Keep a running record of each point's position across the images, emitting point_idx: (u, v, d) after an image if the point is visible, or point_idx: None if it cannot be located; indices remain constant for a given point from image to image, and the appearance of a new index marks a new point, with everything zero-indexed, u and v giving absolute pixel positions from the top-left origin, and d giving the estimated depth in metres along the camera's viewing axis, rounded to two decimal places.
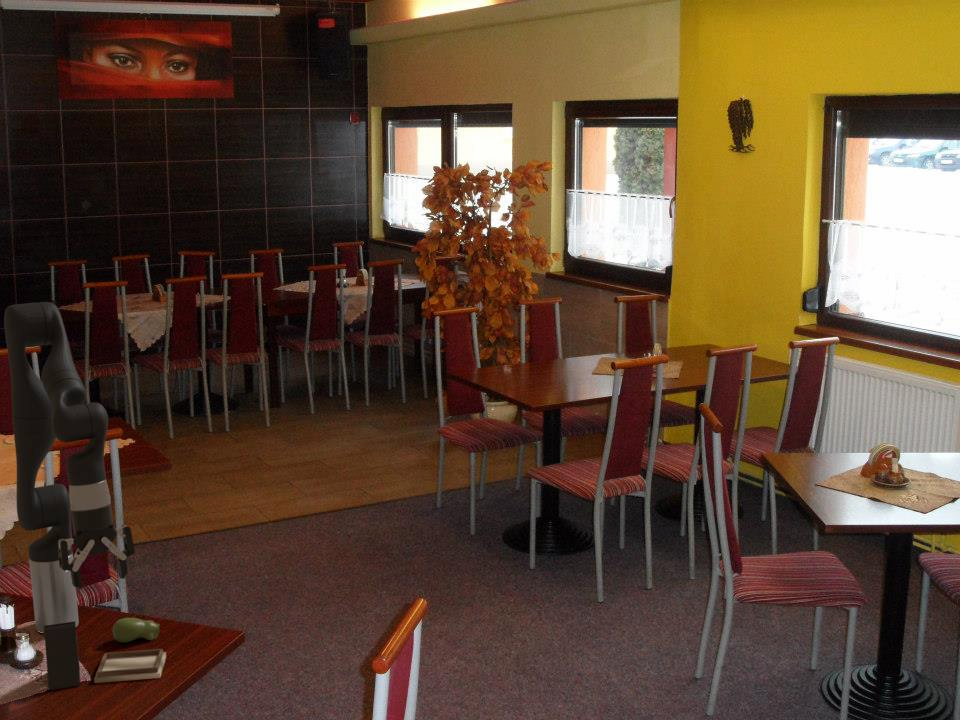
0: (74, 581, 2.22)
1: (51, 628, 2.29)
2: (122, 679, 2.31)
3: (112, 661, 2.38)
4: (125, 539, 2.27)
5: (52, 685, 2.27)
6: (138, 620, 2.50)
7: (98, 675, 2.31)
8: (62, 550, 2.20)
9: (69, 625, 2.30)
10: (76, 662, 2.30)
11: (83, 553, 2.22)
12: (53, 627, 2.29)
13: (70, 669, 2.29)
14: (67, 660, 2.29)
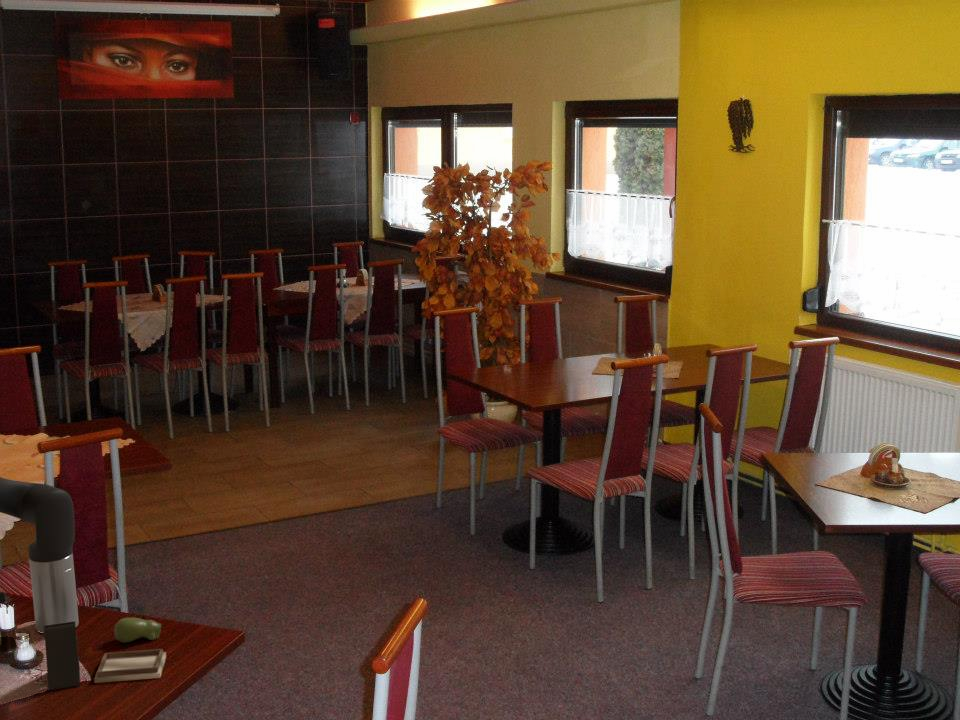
0: None
1: (51, 628, 2.29)
2: (122, 679, 2.31)
3: (112, 661, 2.38)
4: None
5: (52, 685, 2.27)
6: (140, 620, 2.50)
7: (98, 675, 2.31)
8: None
9: (69, 625, 2.30)
10: (76, 662, 2.30)
11: None
12: (53, 627, 2.29)
13: (70, 669, 2.29)
14: (67, 660, 2.29)
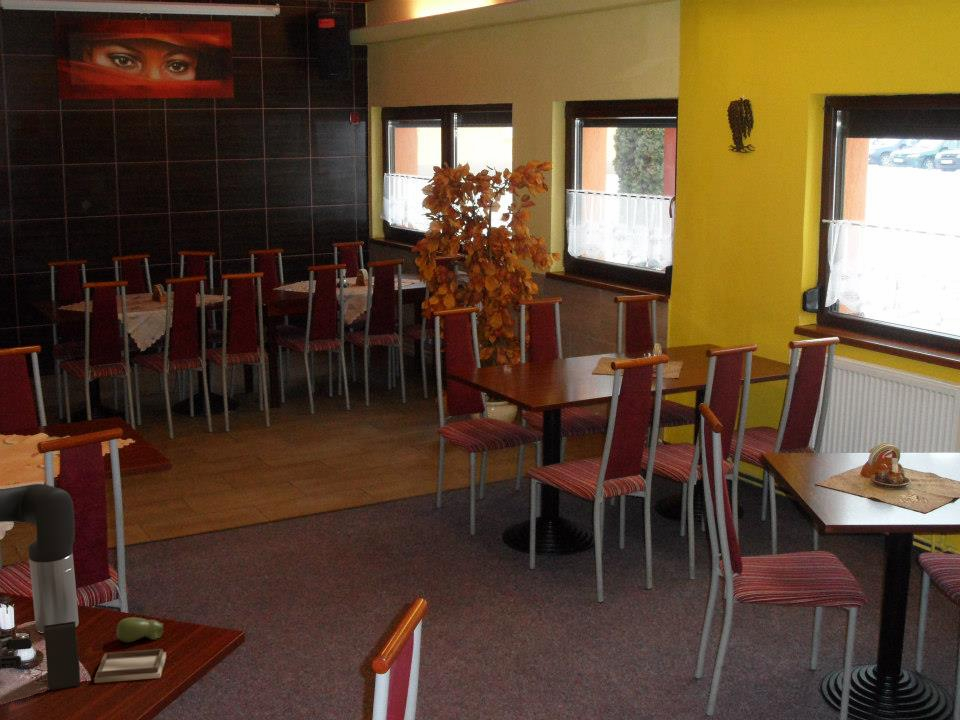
0: None
1: (51, 628, 2.29)
2: (122, 679, 2.31)
3: (112, 661, 2.38)
4: None
5: (52, 685, 2.27)
6: (142, 620, 2.50)
7: (98, 675, 2.31)
8: None
9: (69, 625, 2.30)
10: (76, 662, 2.30)
11: None
12: (53, 627, 2.29)
13: (70, 669, 2.29)
14: (67, 660, 2.29)
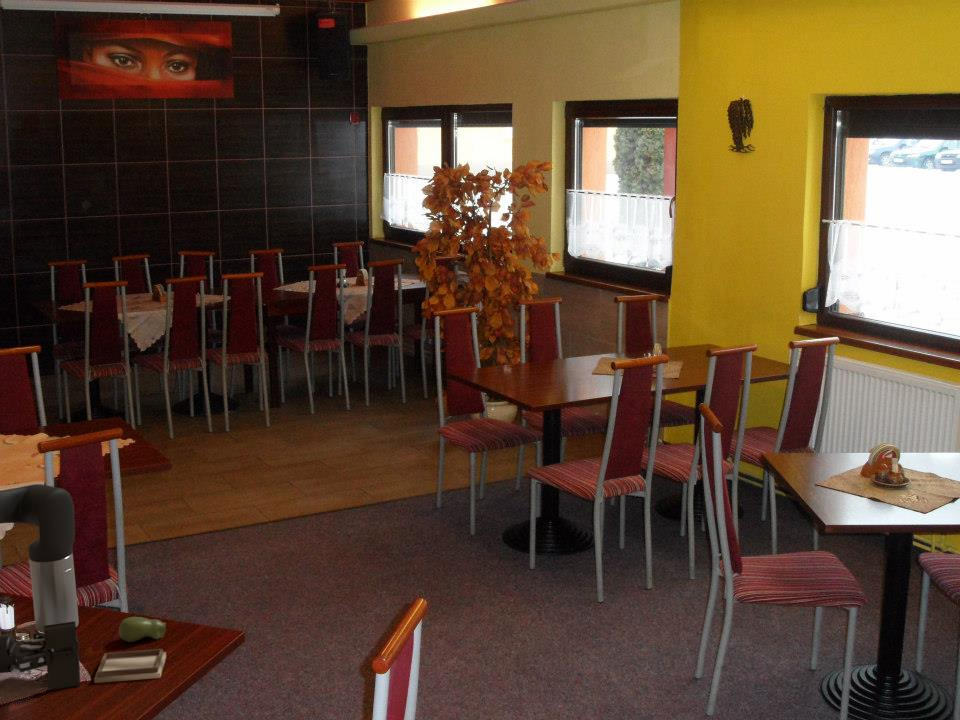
0: None
1: (51, 628, 2.29)
2: (122, 679, 2.31)
3: (112, 661, 2.38)
4: None
5: (52, 685, 2.27)
6: (144, 619, 2.50)
7: (98, 675, 2.31)
8: None
9: (69, 625, 2.30)
10: (76, 662, 2.30)
11: None
12: (53, 627, 2.29)
13: (70, 669, 2.29)
14: (67, 660, 2.29)
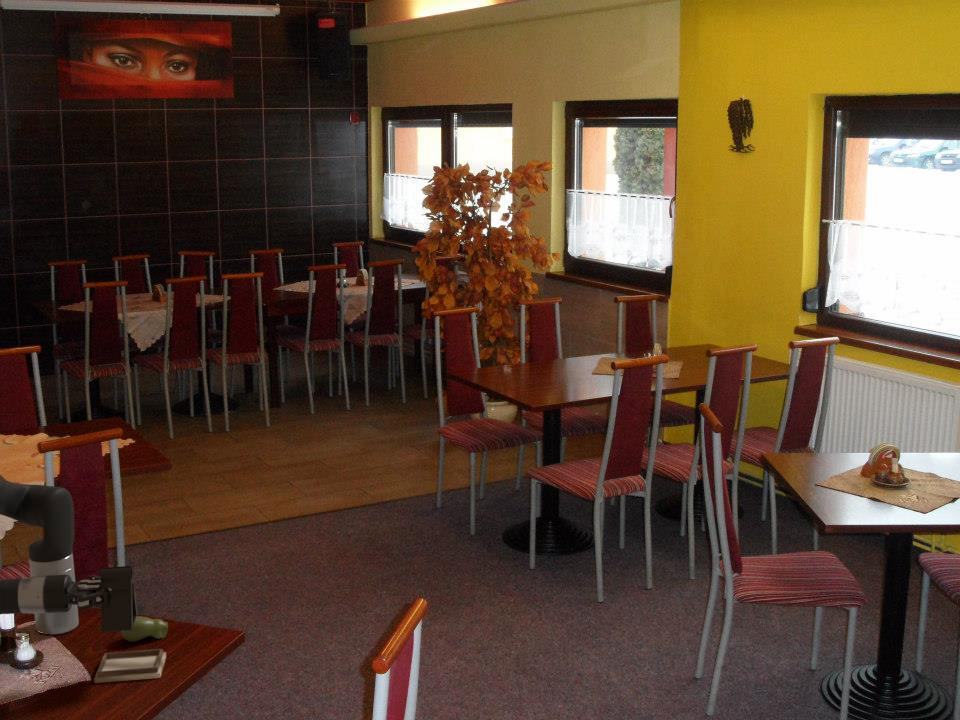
0: None
1: (107, 570, 2.30)
2: (122, 679, 2.31)
3: (112, 661, 2.38)
4: None
5: (105, 627, 2.29)
6: (147, 619, 2.50)
7: (98, 675, 2.31)
8: None
9: (125, 569, 2.31)
10: (129, 606, 2.30)
11: None
12: (109, 570, 2.30)
13: (123, 612, 2.30)
14: (121, 604, 2.30)
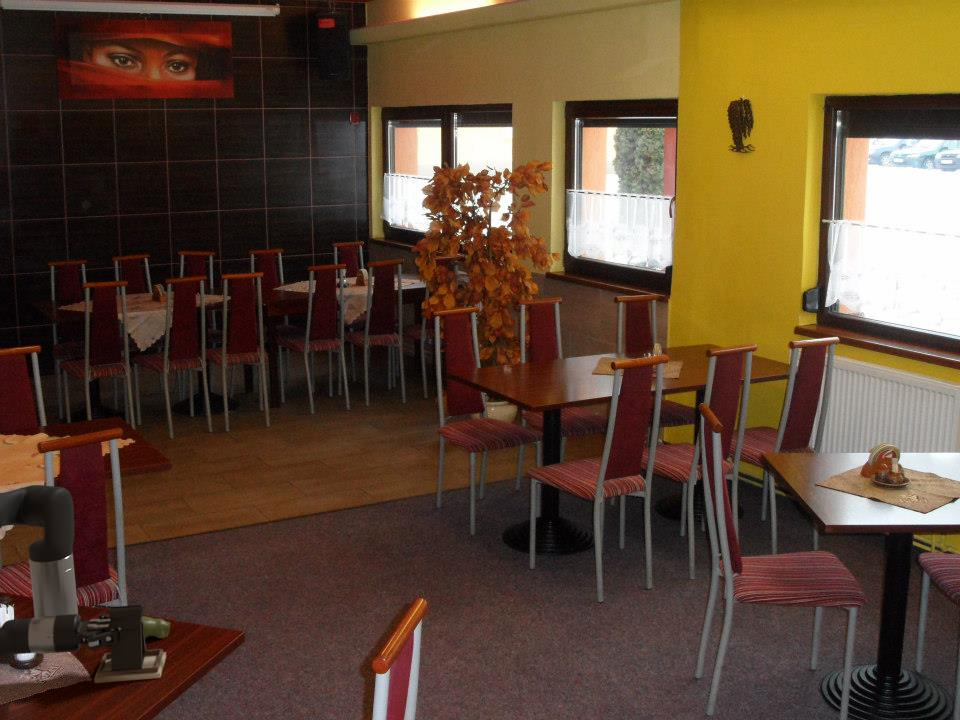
0: None
1: (117, 610, 2.32)
2: (122, 679, 2.31)
3: None
4: None
5: (115, 666, 2.31)
6: (149, 618, 2.50)
7: (98, 675, 2.31)
8: None
9: (134, 608, 2.33)
10: (139, 645, 2.32)
11: None
12: (119, 609, 2.32)
13: (133, 651, 2.32)
14: (130, 642, 2.32)
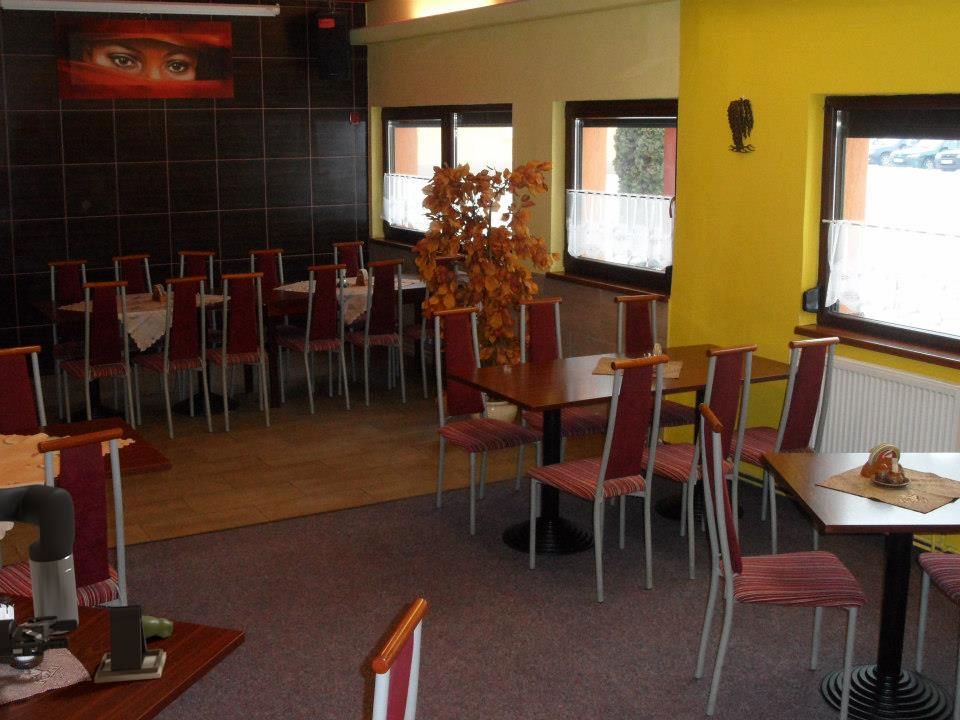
0: None
1: (116, 610, 2.32)
2: (122, 679, 2.31)
3: None
4: None
5: (114, 666, 2.31)
6: (152, 618, 2.51)
7: (98, 675, 2.31)
8: None
9: (133, 608, 2.33)
10: (138, 645, 2.32)
11: None
12: (118, 609, 2.32)
13: (132, 651, 2.32)
14: (130, 643, 2.32)
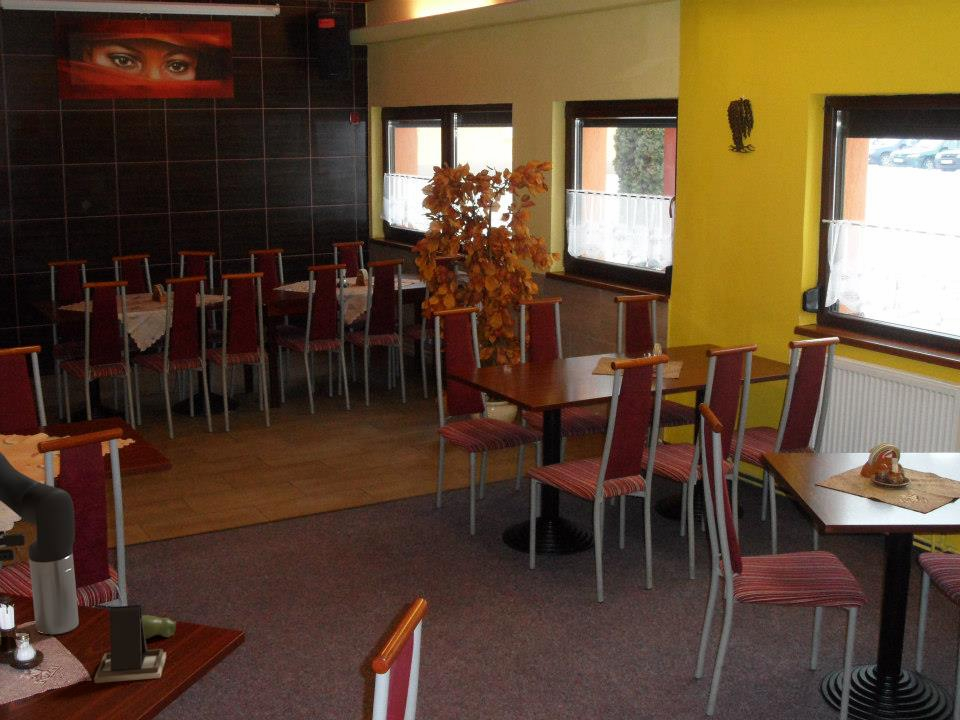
0: None
1: (116, 610, 2.32)
2: (122, 679, 2.31)
3: None
4: None
5: (114, 666, 2.31)
6: (155, 617, 2.51)
7: (98, 675, 2.31)
8: None
9: (133, 608, 2.33)
10: (138, 645, 2.32)
11: None
12: (118, 609, 2.32)
13: (132, 651, 2.32)
14: (130, 643, 2.32)
